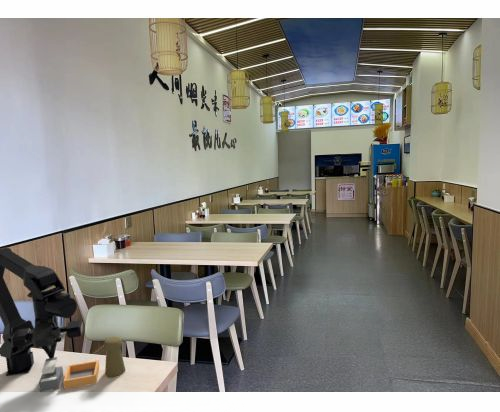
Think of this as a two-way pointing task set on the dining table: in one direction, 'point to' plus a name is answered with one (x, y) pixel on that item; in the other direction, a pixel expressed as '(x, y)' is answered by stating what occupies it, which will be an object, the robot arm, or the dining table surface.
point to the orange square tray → (81, 374)
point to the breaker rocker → (49, 365)
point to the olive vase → (114, 357)
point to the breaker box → (51, 380)
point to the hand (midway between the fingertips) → (52, 358)
